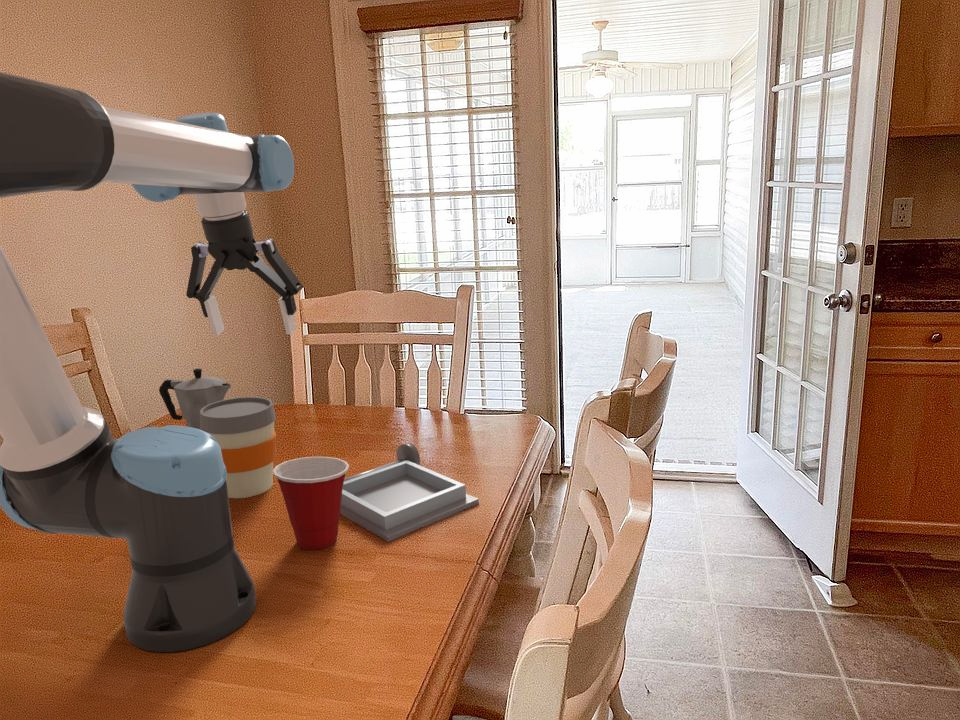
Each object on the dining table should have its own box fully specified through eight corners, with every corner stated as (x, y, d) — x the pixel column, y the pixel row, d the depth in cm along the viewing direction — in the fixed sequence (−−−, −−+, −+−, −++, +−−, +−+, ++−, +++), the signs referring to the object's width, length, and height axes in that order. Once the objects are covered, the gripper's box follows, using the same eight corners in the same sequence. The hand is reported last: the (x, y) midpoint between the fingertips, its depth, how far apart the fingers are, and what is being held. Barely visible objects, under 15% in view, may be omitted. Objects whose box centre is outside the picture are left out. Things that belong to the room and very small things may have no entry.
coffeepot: (250, 448, 147) (240, 363, 143) (226, 465, 138) (215, 375, 134) (182, 445, 150) (170, 362, 146) (155, 462, 141) (141, 374, 137)
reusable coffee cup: (296, 485, 127) (288, 404, 124) (231, 509, 119) (220, 423, 115) (259, 468, 136) (250, 392, 132) (196, 490, 127) (184, 409, 123)
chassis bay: (379, 545, 105) (376, 514, 103) (302, 500, 121) (300, 472, 120) (486, 500, 118) (484, 472, 117) (404, 464, 135) (402, 439, 134)
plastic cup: (370, 533, 108) (364, 459, 106) (318, 565, 100) (310, 485, 97) (318, 518, 114) (311, 447, 111) (265, 547, 105) (256, 471, 103)
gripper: (305, 203, 117) (329, 321, 127) (166, 211, 122) (200, 324, 131) (287, 216, 111) (314, 340, 120) (141, 224, 115) (179, 342, 125)
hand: (255, 332), depth 126 cm, fingers open, 13 cm apart
